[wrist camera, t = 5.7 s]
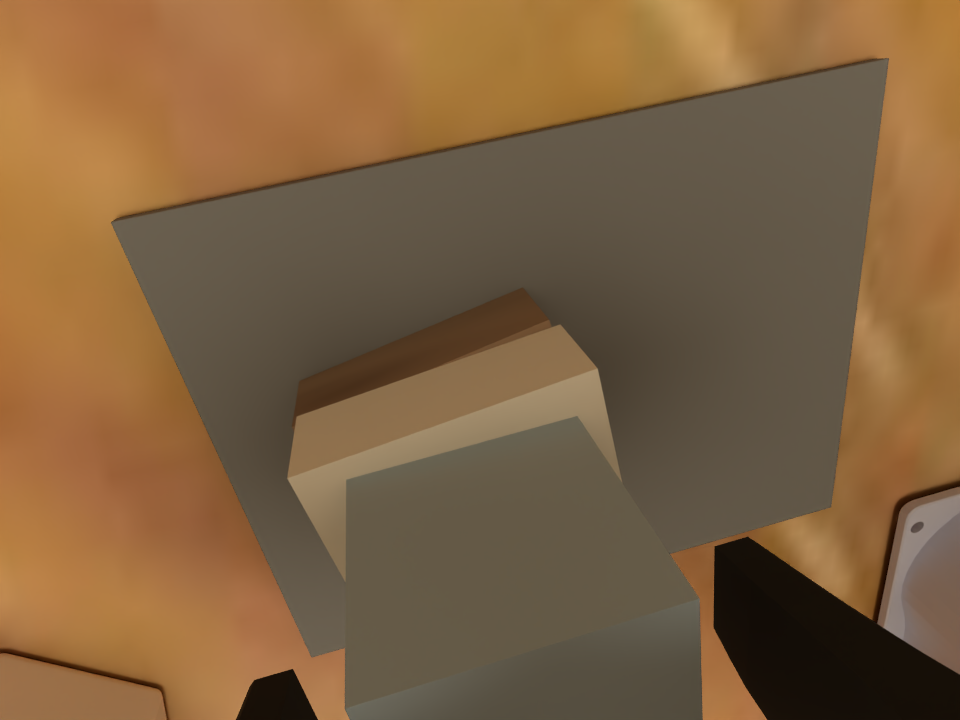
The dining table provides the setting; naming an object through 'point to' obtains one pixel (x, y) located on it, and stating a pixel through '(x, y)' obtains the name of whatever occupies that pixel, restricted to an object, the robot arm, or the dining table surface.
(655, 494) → the felt mat
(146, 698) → the jar
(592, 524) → the gray cube
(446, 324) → the walnut slab
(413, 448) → the cream slab
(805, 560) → the dining table surface
